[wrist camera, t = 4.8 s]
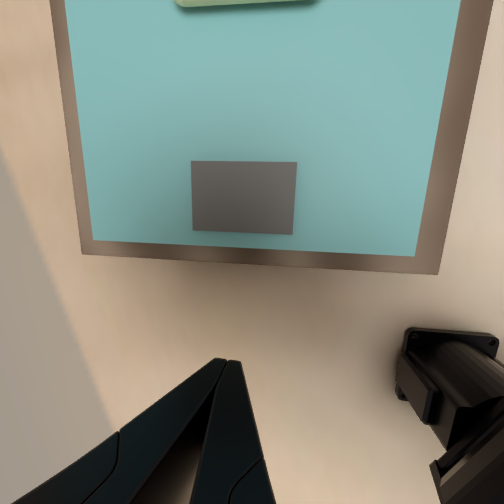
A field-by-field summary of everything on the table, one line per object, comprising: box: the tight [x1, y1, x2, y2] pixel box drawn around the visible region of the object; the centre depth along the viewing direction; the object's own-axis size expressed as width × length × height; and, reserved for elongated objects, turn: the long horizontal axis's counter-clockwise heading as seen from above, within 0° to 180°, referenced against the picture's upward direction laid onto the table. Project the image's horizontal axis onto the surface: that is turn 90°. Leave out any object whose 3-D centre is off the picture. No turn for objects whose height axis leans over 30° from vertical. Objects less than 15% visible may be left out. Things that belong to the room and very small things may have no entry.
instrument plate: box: [65, 0, 461, 257], centre depth 13 cm, size 20×17×3 cm
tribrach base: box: [50, 0, 493, 275], centre depth 16 cm, size 25×20×4 cm
